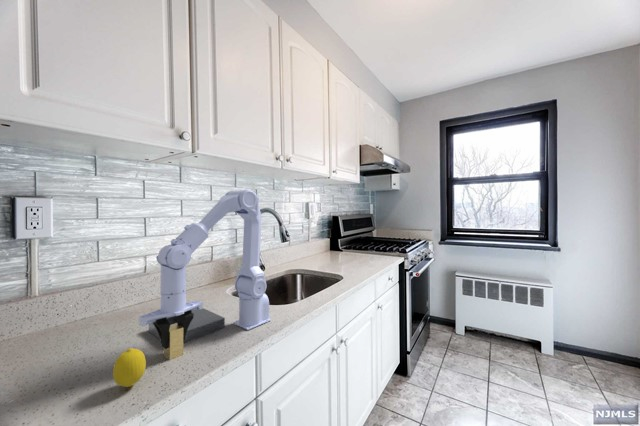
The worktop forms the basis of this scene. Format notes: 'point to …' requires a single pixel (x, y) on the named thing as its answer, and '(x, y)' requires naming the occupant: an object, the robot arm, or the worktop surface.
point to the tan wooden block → (174, 342)
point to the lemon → (129, 367)
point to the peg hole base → (197, 324)
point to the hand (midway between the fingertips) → (173, 344)
